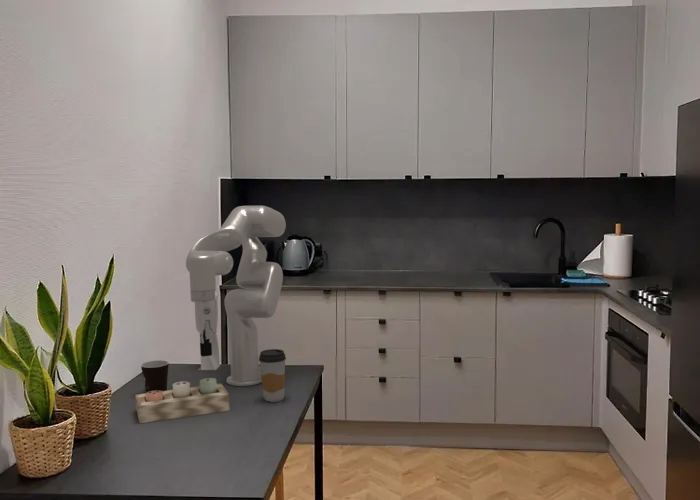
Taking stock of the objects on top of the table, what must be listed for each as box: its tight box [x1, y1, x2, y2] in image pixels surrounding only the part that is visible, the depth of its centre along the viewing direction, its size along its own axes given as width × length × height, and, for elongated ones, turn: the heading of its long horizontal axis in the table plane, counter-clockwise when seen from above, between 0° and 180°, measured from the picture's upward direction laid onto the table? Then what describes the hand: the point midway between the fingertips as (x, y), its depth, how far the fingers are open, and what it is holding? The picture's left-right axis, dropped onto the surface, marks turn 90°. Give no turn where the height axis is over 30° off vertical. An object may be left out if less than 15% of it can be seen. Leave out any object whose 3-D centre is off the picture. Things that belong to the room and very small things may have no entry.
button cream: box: [172, 380, 191, 398], centre depth 221 cm, size 5×5×5 cm
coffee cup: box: [258, 348, 287, 403], centre depth 230 cm, size 8×8×15 cm
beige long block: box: [134, 383, 230, 424], centre depth 222 cm, size 26×12×5 cm, turn 110°
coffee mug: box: [140, 359, 169, 393], centre depth 240 cm, size 12×9×10 cm
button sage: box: [199, 377, 218, 395], centre depth 224 cm, size 5×5×5 cm
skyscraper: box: [196, 292, 222, 371], centre depth 267 cm, size 8×8×28 cm
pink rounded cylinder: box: [144, 390, 163, 402], centre depth 219 cm, size 5×5×5 cm
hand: (206, 355), depth 223 cm, fingers closed
